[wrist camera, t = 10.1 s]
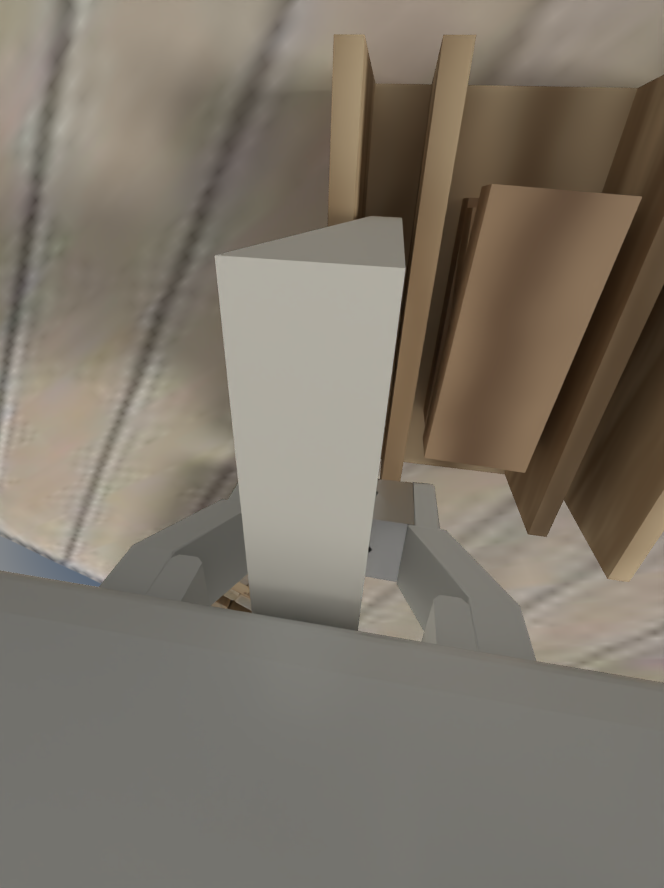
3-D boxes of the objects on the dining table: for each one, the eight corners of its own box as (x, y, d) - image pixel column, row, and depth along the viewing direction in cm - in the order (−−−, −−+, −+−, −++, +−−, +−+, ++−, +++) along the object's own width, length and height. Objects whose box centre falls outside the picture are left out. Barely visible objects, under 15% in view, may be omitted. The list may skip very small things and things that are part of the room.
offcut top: (613, 197, 18) (642, 196, 16) (514, 450, 25) (524, 472, 23) (481, 186, 18) (491, 183, 16) (422, 437, 26) (424, 457, 24)
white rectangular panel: (402, 217, 20) (405, 267, 3) (377, 422, 26) (334, 805, 9) (371, 215, 20) (213, 255, 3) (354, 419, 26) (270, 791, 10)
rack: (726, 97, 20) (1026, -6, 10) (561, 471, 33) (629, 581, 23) (345, 90, 22) (301, -1, 13) (329, 443, 35) (301, 534, 25)
